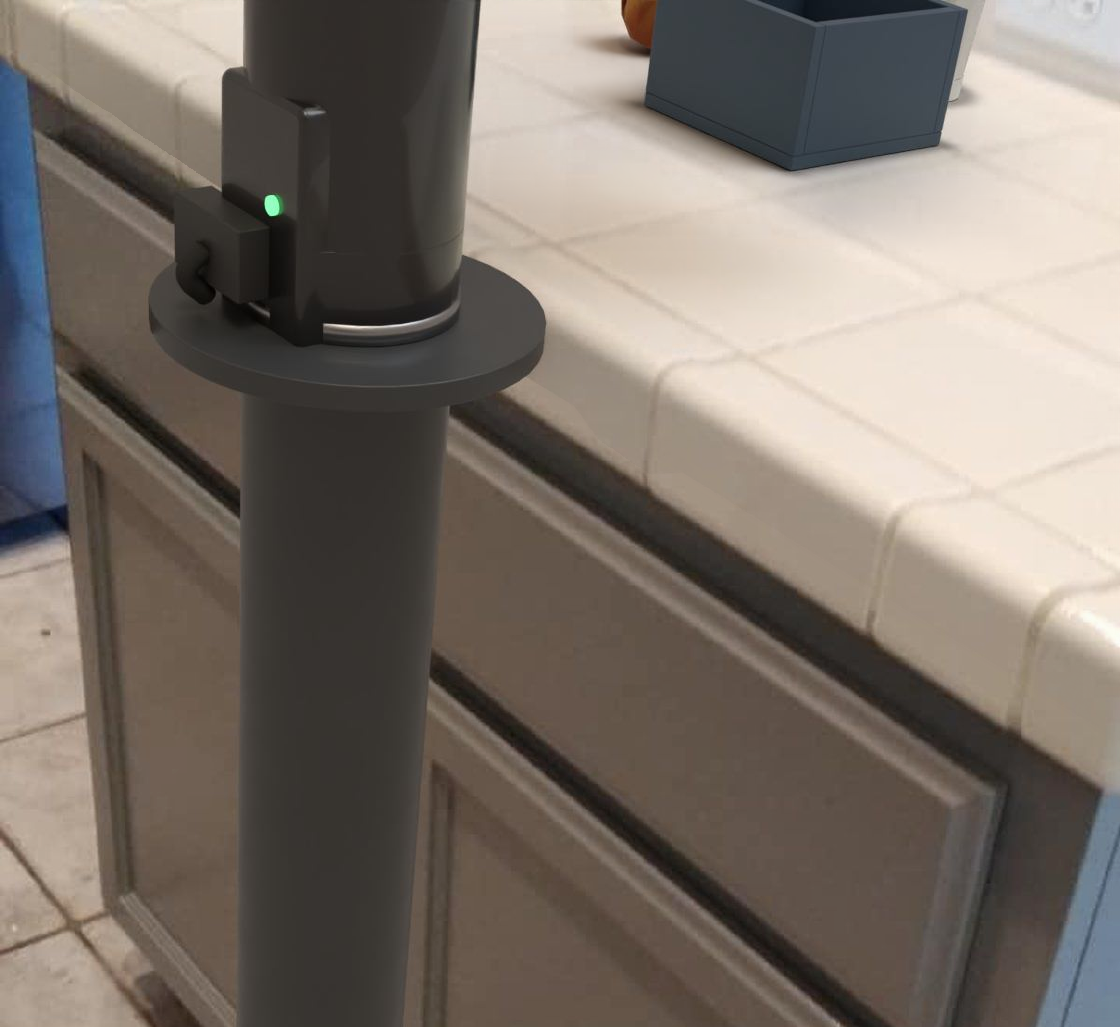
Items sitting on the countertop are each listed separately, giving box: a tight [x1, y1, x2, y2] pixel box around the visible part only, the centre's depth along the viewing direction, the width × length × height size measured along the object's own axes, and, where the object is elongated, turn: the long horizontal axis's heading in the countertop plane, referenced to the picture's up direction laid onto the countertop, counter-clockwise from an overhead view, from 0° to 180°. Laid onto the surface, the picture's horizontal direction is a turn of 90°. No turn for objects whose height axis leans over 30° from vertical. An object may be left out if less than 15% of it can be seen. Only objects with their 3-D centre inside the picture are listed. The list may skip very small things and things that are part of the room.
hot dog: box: [620, 0, 657, 50], centre depth 123 cm, size 5×13×5 cm, turn 98°
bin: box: [643, 0, 968, 172], centre depth 111 cm, size 13×13×8 cm
